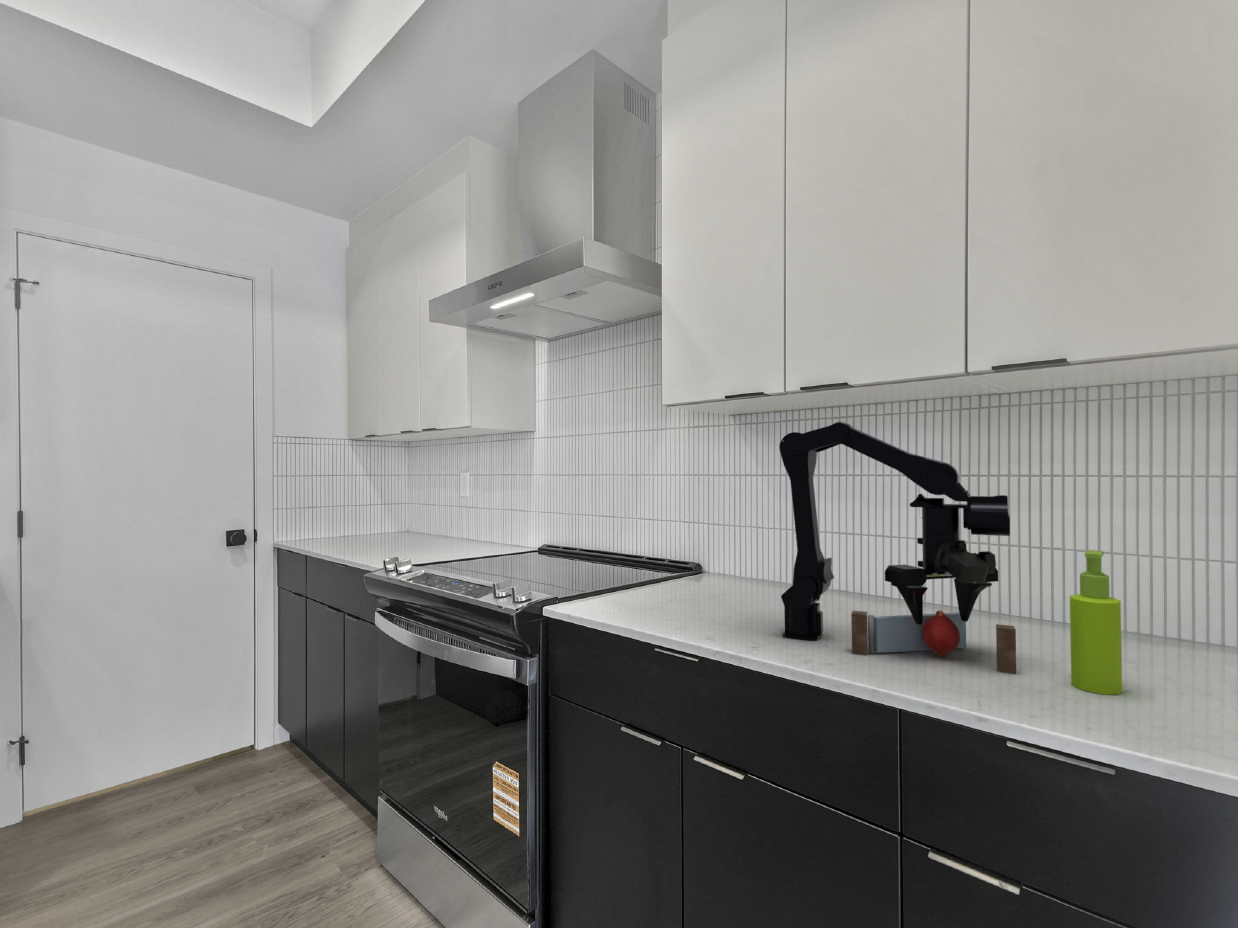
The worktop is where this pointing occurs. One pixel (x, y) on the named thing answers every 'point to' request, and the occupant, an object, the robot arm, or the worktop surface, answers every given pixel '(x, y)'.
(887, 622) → the door
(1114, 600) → the soap dispenser
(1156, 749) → the worktop surface
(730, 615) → the worktop surface
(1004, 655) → the door frame
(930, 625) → the onion
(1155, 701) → the worktop surface
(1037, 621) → the worktop surface
